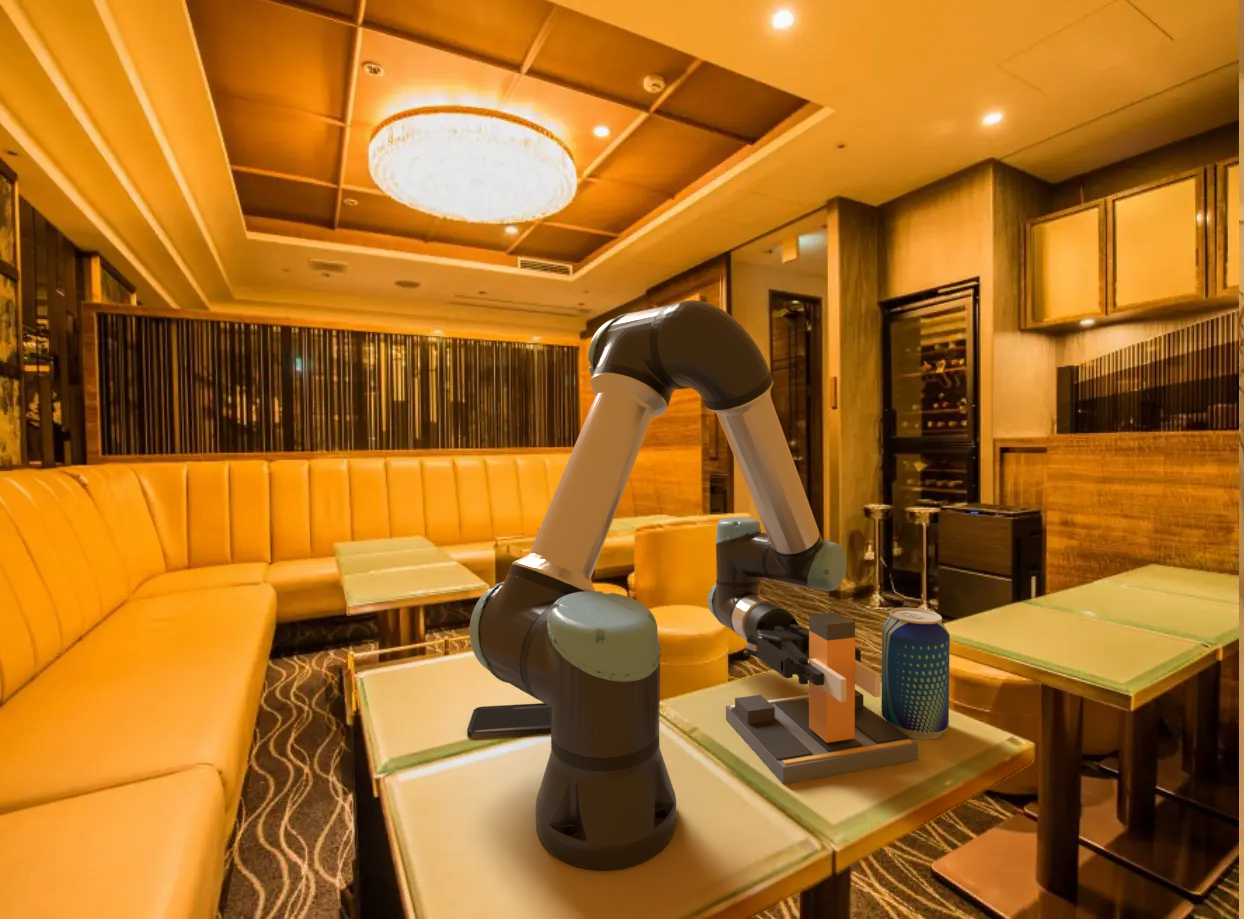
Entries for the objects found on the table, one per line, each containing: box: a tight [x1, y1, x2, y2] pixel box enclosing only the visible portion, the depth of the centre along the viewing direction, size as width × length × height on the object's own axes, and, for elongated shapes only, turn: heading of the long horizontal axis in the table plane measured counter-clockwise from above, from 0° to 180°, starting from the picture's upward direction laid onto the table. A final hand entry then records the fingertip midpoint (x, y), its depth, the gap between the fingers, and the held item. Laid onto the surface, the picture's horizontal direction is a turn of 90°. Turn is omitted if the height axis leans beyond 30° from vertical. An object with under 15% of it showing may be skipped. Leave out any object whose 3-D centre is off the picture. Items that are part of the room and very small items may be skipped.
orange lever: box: [808, 612, 856, 743], centre depth 74 cm, size 4×4×15 cm
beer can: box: [881, 607, 951, 741], centre depth 81 cm, size 8×8×16 cm
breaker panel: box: [725, 689, 919, 785], centre depth 78 cm, size 19×16×4 cm
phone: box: [466, 702, 551, 739], centre depth 84 cm, size 8×1×15 cm
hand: (860, 687), depth 69 cm, fingers closed on orange lever, 4 cm apart
